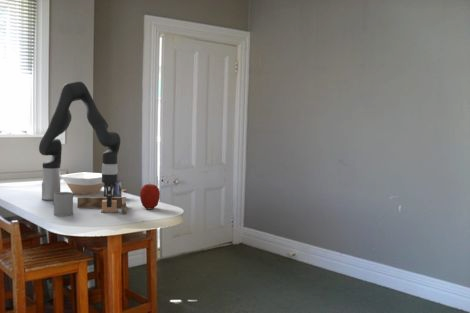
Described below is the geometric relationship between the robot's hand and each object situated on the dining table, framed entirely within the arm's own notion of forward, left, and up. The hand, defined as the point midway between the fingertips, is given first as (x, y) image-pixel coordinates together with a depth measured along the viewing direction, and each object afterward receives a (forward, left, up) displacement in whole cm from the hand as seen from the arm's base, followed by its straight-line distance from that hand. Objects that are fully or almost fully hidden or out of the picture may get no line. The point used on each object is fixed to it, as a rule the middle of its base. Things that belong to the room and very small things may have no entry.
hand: (109, 205), depth 252 cm
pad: (0, 0, -3) cm, 3 cm away
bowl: (-15, +59, -3) cm, 61 cm away
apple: (+20, +6, -3) cm, 21 cm away
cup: (-21, -6, -3) cm, 22 cm away
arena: (-4, +3, -3) cm, 6 cm away
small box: (+1, +38, -3) cm, 38 cm away
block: (0, 0, -3) cm, 3 cm away
